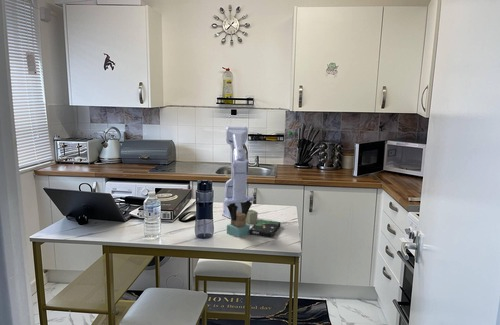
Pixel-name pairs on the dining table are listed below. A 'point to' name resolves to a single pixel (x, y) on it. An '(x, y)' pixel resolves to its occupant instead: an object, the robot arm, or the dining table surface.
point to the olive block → (251, 216)
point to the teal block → (238, 230)
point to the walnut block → (239, 220)
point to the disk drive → (265, 228)
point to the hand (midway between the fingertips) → (238, 219)
